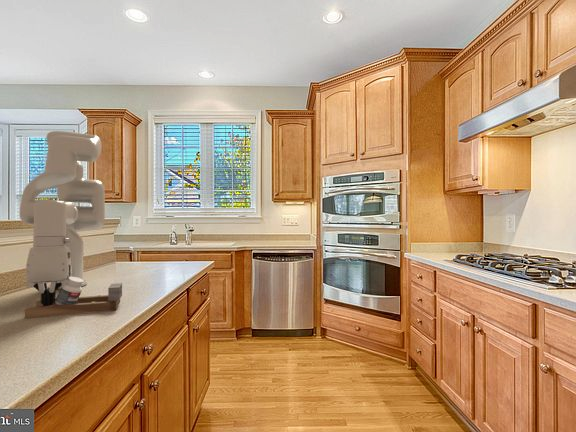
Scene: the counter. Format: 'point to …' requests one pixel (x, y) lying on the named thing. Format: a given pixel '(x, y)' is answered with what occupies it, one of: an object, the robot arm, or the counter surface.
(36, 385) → the counter surface
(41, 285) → the robot arm
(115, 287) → the beam
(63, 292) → the pill bottle
